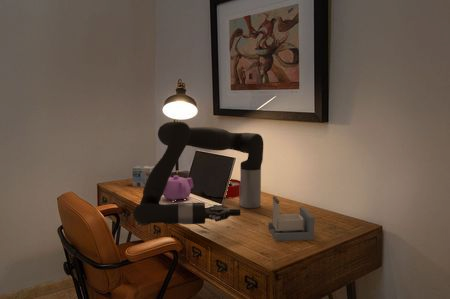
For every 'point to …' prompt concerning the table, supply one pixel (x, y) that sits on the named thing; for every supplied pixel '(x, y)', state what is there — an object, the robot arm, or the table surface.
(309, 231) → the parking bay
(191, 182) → the pot
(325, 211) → the table surface
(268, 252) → the table surface
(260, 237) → the table surface
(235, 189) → the toy clock
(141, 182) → the light bulb box
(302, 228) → the toy cart
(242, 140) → the robot arm
